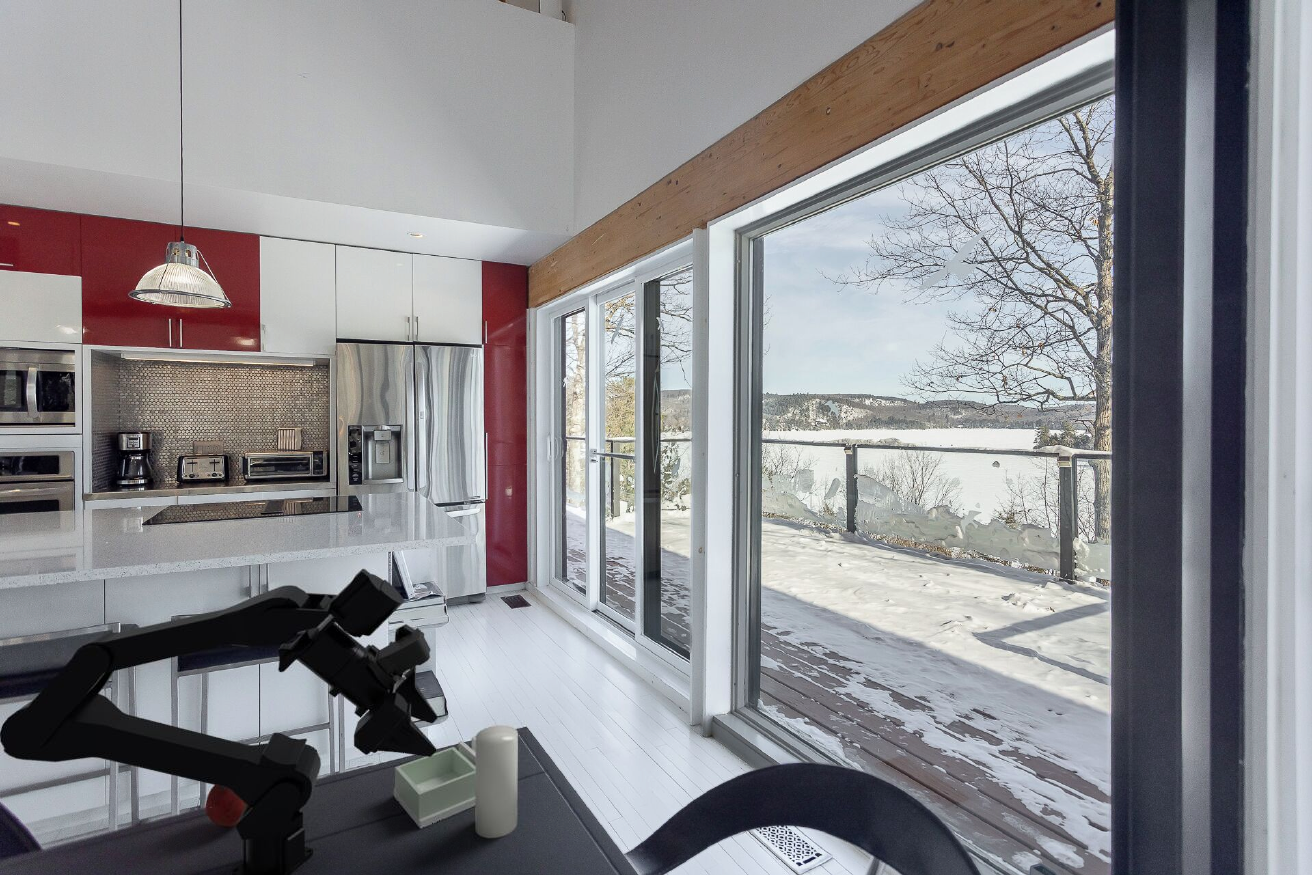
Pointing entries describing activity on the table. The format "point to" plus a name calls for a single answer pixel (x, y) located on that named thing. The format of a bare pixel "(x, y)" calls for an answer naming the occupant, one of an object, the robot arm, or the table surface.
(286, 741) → the robot arm
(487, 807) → the off-white round-top cylinder
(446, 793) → the pale green holder box
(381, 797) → the table surface
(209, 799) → the red rounded egg shape
